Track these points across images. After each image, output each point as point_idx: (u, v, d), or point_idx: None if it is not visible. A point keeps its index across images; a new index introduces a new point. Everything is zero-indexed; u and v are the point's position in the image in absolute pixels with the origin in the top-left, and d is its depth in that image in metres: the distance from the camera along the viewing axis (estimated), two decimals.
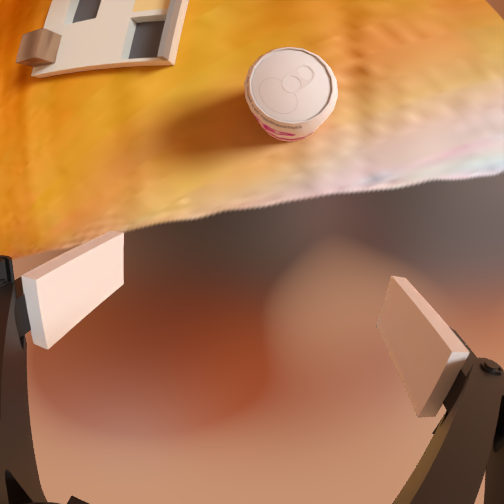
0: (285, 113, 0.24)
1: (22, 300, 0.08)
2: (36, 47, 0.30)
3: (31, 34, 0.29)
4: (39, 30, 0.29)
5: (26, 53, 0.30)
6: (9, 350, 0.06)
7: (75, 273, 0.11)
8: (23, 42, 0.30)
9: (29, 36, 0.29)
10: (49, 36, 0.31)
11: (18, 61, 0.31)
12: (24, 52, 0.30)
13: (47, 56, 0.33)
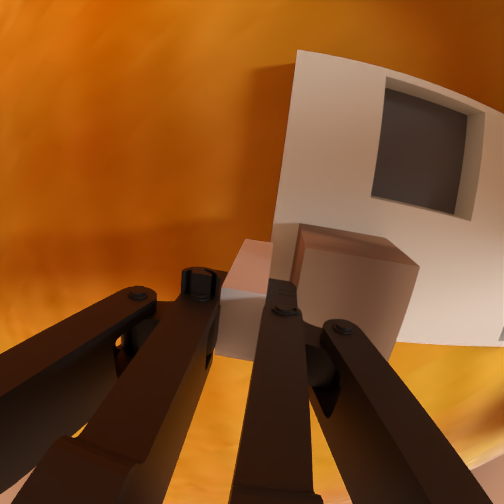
0: None
1: (219, 312, 0.10)
2: (390, 336, 0.13)
3: (361, 270, 0.12)
4: (401, 270, 0.12)
5: None
6: (189, 376, 0.07)
7: None
8: (317, 289, 0.13)
9: (350, 275, 0.12)
10: None
11: None
12: None
13: None
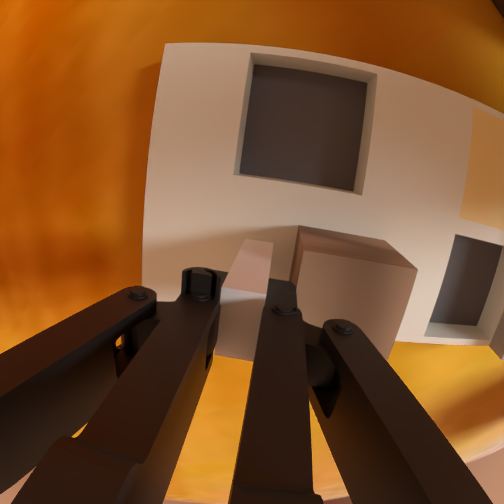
0: None
1: (220, 312, 0.10)
2: (388, 338, 0.13)
3: (359, 273, 0.12)
4: (400, 272, 0.12)
5: None
6: (189, 376, 0.07)
7: None
8: (315, 291, 0.13)
9: (348, 278, 0.12)
10: None
11: None
12: None
13: None
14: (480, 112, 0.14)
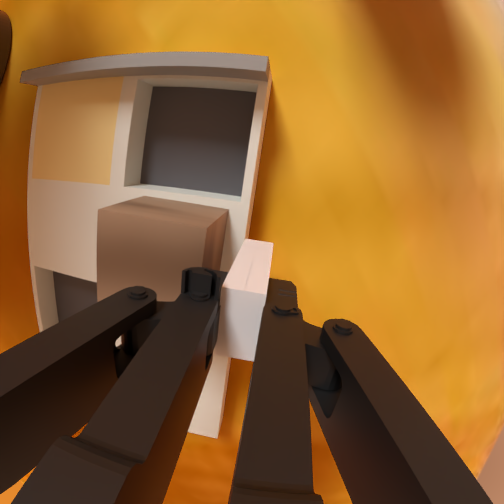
0: None
1: (220, 312, 0.10)
2: (167, 229, 0.12)
3: (106, 267, 0.13)
4: (102, 228, 0.13)
5: (175, 281, 0.13)
6: (189, 376, 0.07)
7: None
8: None
9: (111, 276, 0.13)
10: (136, 205, 0.14)
11: None
12: (168, 292, 0.13)
13: (206, 214, 0.15)
14: (34, 170, 0.18)
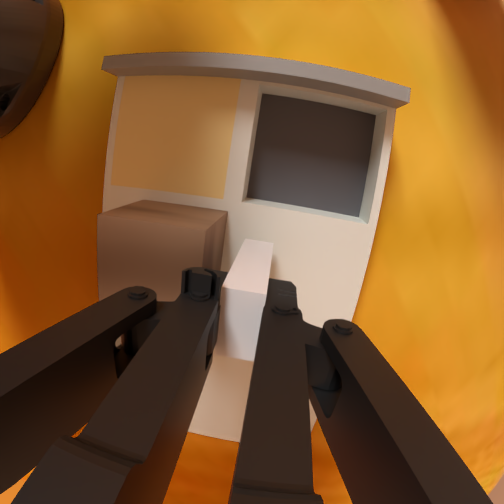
0: None
1: (219, 312, 0.10)
2: (166, 233, 0.13)
3: (107, 272, 0.13)
4: (102, 233, 0.13)
5: (176, 284, 0.13)
6: (189, 376, 0.07)
7: None
8: None
9: (112, 281, 0.13)
10: (136, 209, 0.14)
11: None
12: (168, 295, 0.13)
13: (205, 216, 0.15)
14: (113, 175, 0.17)
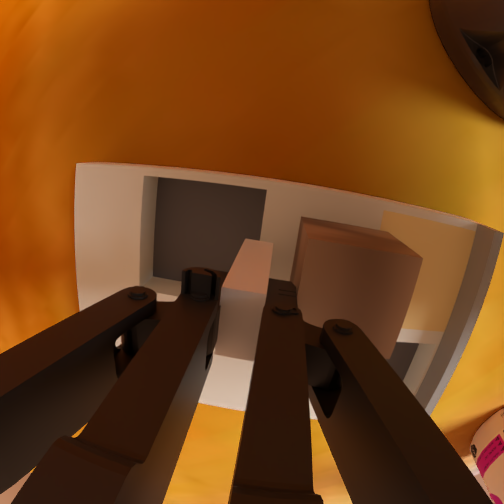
0: None
1: (220, 312, 0.10)
2: (393, 329, 0.13)
3: (364, 261, 0.12)
4: (405, 261, 0.12)
5: None
6: (189, 376, 0.07)
7: None
8: (320, 280, 0.12)
9: (353, 266, 0.12)
10: None
11: None
12: None
13: None
14: (392, 214, 0.16)
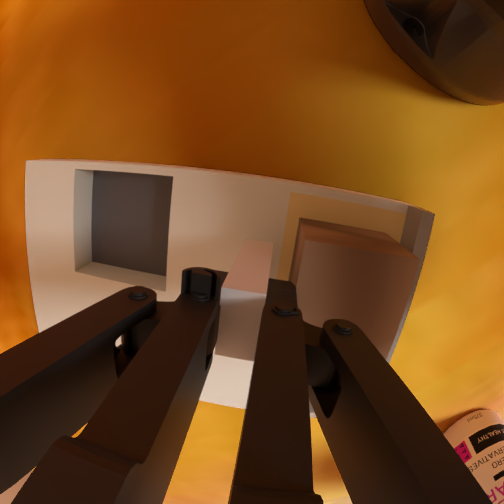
0: None
1: (220, 312, 0.10)
2: (390, 330, 0.13)
3: (360, 263, 0.12)
4: (401, 263, 0.12)
5: None
6: (189, 376, 0.07)
7: None
8: (317, 281, 0.13)
9: (350, 268, 0.12)
10: None
11: None
12: None
13: None
14: (301, 196, 0.17)
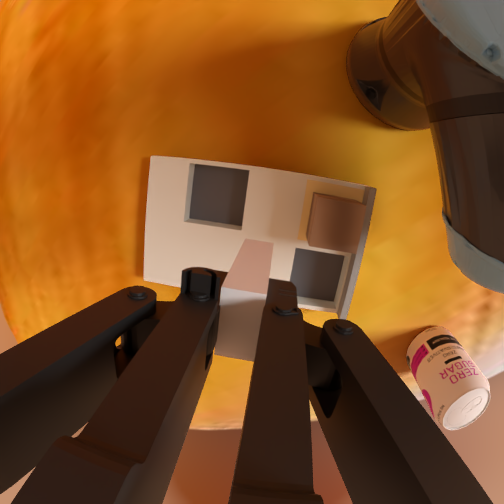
0: (456, 424, 0.28)
1: (219, 312, 0.10)
2: (356, 238, 0.31)
3: (340, 206, 0.30)
4: (358, 207, 0.30)
5: (335, 240, 0.31)
6: (189, 376, 0.07)
7: None
8: (323, 214, 0.30)
9: (336, 208, 0.30)
10: None
11: (315, 245, 0.31)
12: (330, 236, 0.31)
13: None
14: (312, 181, 0.34)
